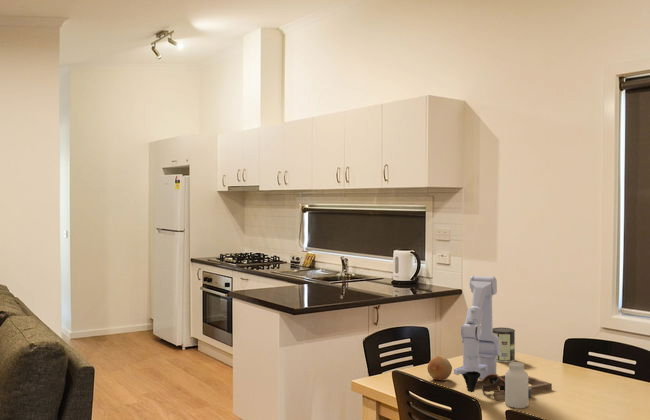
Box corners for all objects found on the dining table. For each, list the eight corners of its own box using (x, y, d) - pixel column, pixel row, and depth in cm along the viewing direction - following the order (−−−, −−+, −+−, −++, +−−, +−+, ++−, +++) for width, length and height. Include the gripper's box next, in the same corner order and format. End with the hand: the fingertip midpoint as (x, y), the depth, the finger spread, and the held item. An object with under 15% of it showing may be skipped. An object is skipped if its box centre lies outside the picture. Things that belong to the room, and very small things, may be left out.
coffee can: (506, 356, 290) (506, 326, 290) (519, 361, 280) (519, 331, 280) (487, 357, 287) (487, 328, 287) (499, 363, 277) (499, 332, 277)
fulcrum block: (523, 397, 229) (523, 388, 229) (523, 395, 231) (523, 386, 231) (531, 398, 228) (531, 389, 228) (531, 395, 231) (531, 387, 231)
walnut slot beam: (466, 387, 241) (466, 381, 241) (519, 378, 253) (519, 372, 253) (496, 400, 226) (496, 393, 226) (551, 389, 238) (551, 383, 238)
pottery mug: (513, 398, 229) (504, 380, 228) (490, 408, 231) (480, 390, 229) (506, 381, 241) (497, 364, 239) (483, 390, 243) (475, 374, 241)
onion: (453, 383, 246) (453, 359, 246) (428, 383, 248) (428, 358, 247) (451, 377, 256) (451, 353, 256) (426, 376, 257) (426, 352, 257)
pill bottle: (501, 401, 224) (501, 361, 223) (522, 400, 225) (522, 360, 224) (510, 409, 216) (510, 367, 215) (532, 408, 217) (532, 366, 216)
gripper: (462, 360, 224) (462, 397, 224) (493, 355, 231) (493, 391, 231) (450, 355, 231) (450, 391, 231) (480, 351, 237) (480, 386, 237)
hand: (470, 391), depth 231 cm, fingers closed
